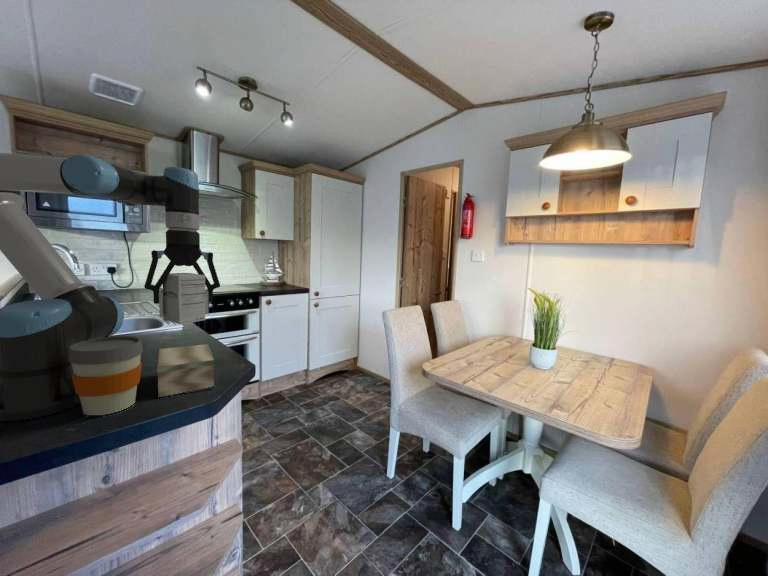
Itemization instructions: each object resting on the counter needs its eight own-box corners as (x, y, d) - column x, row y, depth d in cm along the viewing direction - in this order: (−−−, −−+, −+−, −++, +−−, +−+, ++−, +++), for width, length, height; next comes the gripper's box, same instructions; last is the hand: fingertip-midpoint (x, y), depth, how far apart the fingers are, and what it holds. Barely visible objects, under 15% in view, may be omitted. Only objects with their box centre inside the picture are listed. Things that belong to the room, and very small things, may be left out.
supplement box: (162, 321, 84) (160, 273, 83) (190, 316, 91) (189, 272, 90) (178, 324, 81) (177, 275, 80) (206, 320, 88) (206, 274, 86)
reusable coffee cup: (136, 390, 82) (134, 333, 80) (151, 407, 74) (149, 343, 72) (67, 407, 72) (63, 342, 70) (77, 428, 64) (72, 355, 62)
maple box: (157, 399, 78) (156, 367, 77) (159, 376, 91) (158, 349, 90) (214, 389, 84) (214, 359, 84) (208, 369, 98) (208, 343, 97)
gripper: (127, 226, 74) (130, 320, 77) (231, 233, 87) (232, 314, 89) (130, 227, 80) (133, 314, 83) (227, 233, 93) (228, 309, 95)
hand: (184, 314), depth 86 cm, fingers closed on supplement box, 10 cm apart
